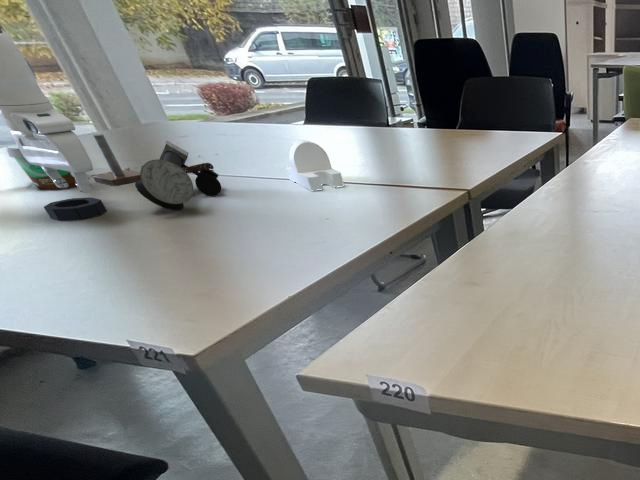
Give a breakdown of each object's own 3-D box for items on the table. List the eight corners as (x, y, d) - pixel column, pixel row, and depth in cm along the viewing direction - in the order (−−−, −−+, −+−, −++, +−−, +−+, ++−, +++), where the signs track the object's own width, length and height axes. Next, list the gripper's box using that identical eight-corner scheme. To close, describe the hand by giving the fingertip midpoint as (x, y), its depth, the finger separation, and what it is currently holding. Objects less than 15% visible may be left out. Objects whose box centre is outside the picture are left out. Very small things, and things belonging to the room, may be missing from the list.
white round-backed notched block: (312, 191, 142) (298, 148, 135) (289, 179, 152) (274, 138, 145) (345, 186, 148) (334, 144, 141) (321, 175, 157) (309, 135, 150)
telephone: (207, 237, 128) (209, 204, 147) (228, 193, 125) (227, 165, 144) (128, 199, 117) (141, 169, 136) (149, 149, 114) (159, 126, 133)
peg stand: (114, 185, 143) (88, 138, 135) (95, 182, 145) (69, 135, 138) (148, 179, 149) (125, 134, 141) (129, 175, 152) (106, 131, 144)
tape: (67, 222, 117) (60, 211, 116) (43, 216, 120) (36, 205, 119) (114, 212, 124) (108, 201, 123) (90, 206, 127) (84, 195, 126)
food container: (29, 193, 135) (2, 150, 128) (30, 188, 138) (3, 146, 132) (88, 187, 141) (64, 146, 135) (87, 182, 145) (64, 142, 138)
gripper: (-12, 117, 109) (34, 187, 118) (40, 125, 103) (84, 198, 112) (24, 114, 114) (65, 181, 123) (76, 121, 107) (115, 192, 116)
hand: (75, 189), depth 117 cm, fingers open, 8 cm apart
